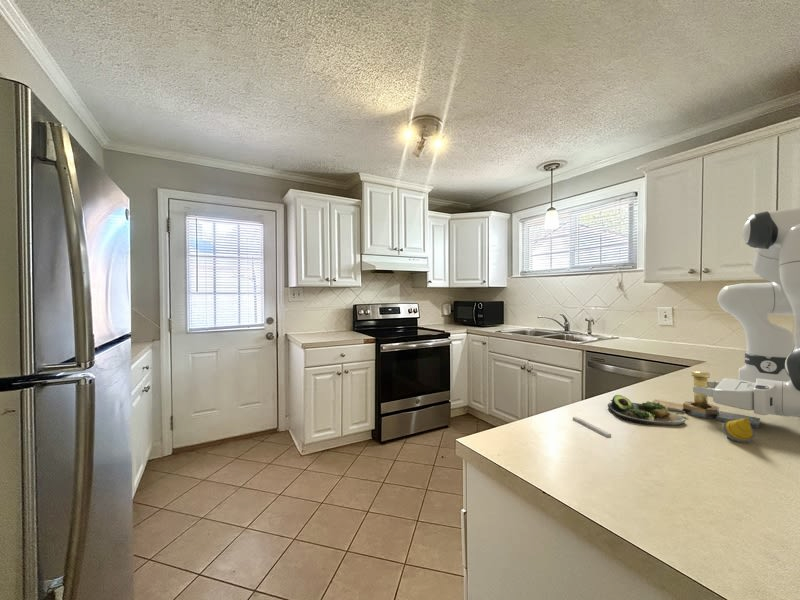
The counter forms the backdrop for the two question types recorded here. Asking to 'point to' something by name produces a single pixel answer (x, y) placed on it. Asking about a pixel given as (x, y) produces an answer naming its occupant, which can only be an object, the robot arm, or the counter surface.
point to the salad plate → (644, 412)
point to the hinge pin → (701, 380)
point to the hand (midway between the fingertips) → (696, 386)
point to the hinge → (708, 412)
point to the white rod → (592, 427)
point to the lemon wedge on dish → (738, 430)
